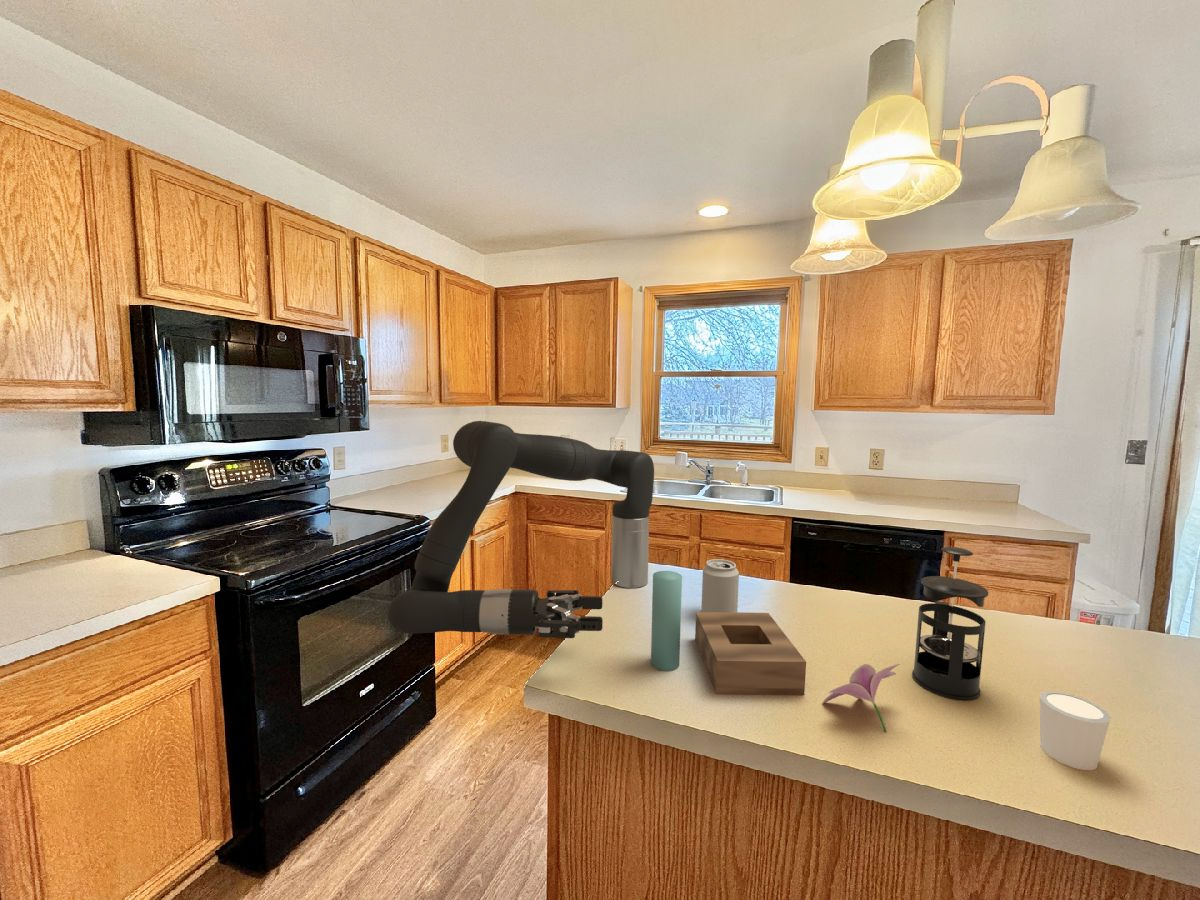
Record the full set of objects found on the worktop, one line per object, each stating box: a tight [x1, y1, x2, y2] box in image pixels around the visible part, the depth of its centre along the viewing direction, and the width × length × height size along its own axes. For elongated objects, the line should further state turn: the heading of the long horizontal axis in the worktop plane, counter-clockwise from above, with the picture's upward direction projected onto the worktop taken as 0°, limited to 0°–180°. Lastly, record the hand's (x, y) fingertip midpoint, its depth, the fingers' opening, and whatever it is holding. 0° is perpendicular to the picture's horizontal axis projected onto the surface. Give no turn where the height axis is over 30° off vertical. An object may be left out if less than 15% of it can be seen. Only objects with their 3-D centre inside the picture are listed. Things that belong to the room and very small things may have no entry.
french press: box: [911, 546, 989, 701], centre depth 83 cm, size 12×9×23 cm
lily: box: [822, 663, 901, 733], centre depth 74 cm, size 12×12×10 cm
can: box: [700, 558, 740, 612], centre depth 107 cm, size 8×8×12 cm
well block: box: [694, 611, 807, 696], centre depth 89 cm, size 18×14×6 cm
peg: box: [650, 570, 683, 672], centre depth 88 cm, size 5×5×16 cm
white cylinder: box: [1039, 690, 1111, 771], centre depth 67 cm, size 7×7×7 cm
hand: (602, 612), depth 88 cm, fingers open, 8 cm apart
